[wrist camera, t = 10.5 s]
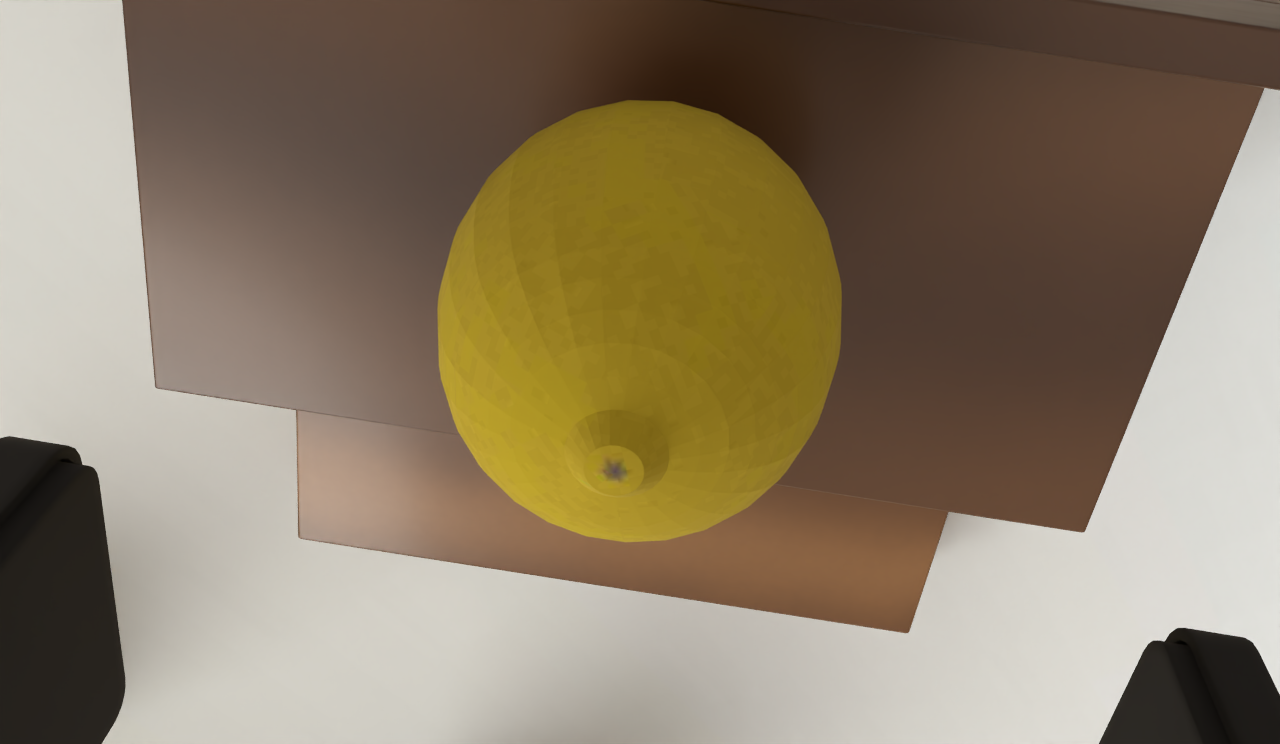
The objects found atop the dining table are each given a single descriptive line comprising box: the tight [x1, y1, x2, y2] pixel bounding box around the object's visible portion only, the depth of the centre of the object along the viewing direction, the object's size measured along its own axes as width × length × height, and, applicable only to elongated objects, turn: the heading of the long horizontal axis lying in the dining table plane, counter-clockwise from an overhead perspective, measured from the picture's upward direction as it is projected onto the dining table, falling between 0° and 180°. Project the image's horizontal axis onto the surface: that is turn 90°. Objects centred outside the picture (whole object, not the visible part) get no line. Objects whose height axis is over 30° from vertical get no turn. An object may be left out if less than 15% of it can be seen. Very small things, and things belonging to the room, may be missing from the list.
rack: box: [122, 0, 1280, 633], centre depth 27 cm, size 20×18×13 cm
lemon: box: [437, 100, 842, 542], centre depth 17 cm, size 6×6×8 cm
